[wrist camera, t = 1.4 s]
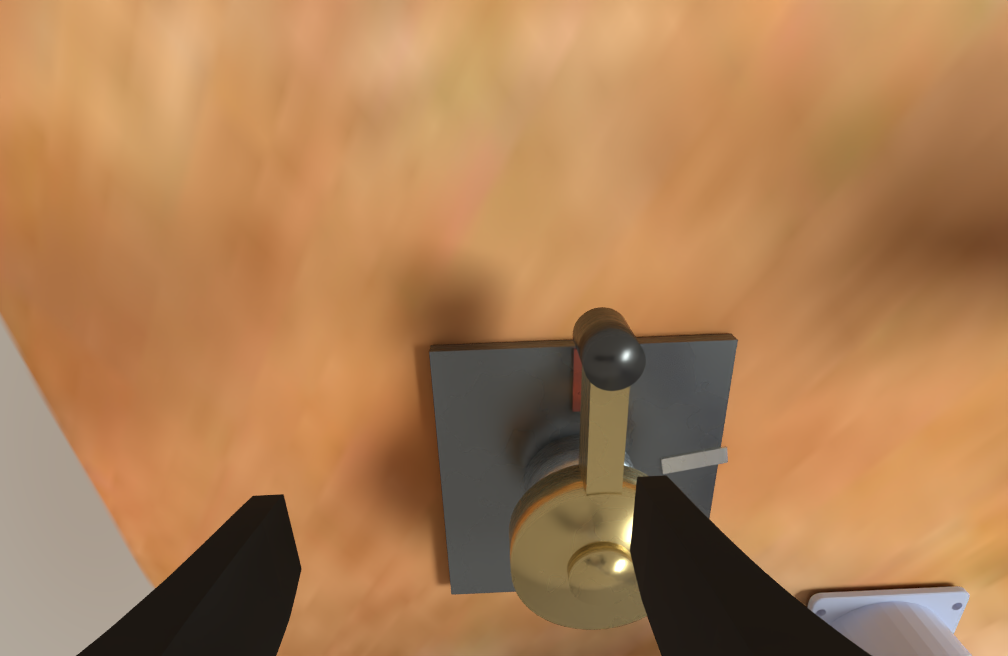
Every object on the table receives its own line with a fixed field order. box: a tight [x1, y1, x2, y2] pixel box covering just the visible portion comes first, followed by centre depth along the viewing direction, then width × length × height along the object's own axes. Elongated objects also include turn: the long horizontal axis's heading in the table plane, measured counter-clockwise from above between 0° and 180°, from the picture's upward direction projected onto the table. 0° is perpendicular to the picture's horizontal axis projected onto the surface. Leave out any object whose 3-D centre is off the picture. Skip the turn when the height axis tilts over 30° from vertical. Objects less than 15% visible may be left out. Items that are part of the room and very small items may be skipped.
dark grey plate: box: [429, 334, 738, 594], centre depth 23 cm, size 13×12×3 cm
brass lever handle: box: [509, 307, 648, 630], centre depth 19 cm, size 12×6×2 cm, turn 2°
